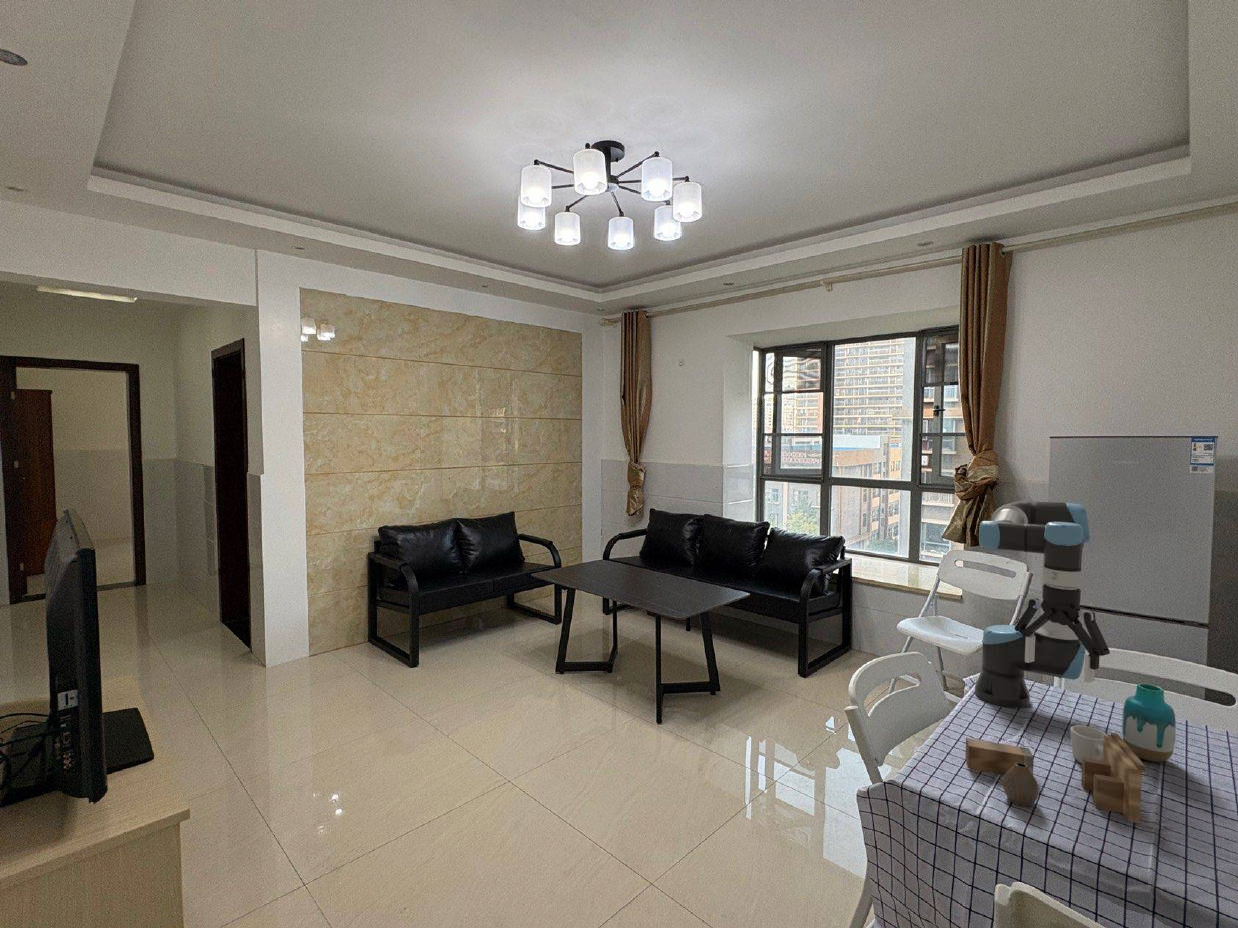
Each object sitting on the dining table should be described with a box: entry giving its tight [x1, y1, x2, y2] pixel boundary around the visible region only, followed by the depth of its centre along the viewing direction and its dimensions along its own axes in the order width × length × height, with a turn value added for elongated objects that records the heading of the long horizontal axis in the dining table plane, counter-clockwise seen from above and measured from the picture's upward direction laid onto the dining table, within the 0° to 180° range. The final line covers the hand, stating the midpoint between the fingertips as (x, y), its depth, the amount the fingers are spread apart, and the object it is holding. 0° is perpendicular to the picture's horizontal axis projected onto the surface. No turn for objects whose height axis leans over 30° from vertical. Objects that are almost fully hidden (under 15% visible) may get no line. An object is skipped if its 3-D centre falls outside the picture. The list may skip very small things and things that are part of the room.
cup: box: [1070, 725, 1109, 764], centre depth 156 cm, size 11×8×8 cm
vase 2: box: [1121, 682, 1177, 763], centre depth 160 cm, size 11×11×19 cm
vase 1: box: [1002, 762, 1040, 807], centre depth 140 cm, size 7×7×9 cm
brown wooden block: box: [964, 737, 1035, 776], centre depth 154 cm, size 14×5×6 cm, turn 68°
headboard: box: [1080, 731, 1147, 824], centre depth 141 cm, size 16×8×13 cm, turn 158°
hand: (1058, 671), depth 148 cm, fingers open, 13 cm apart
